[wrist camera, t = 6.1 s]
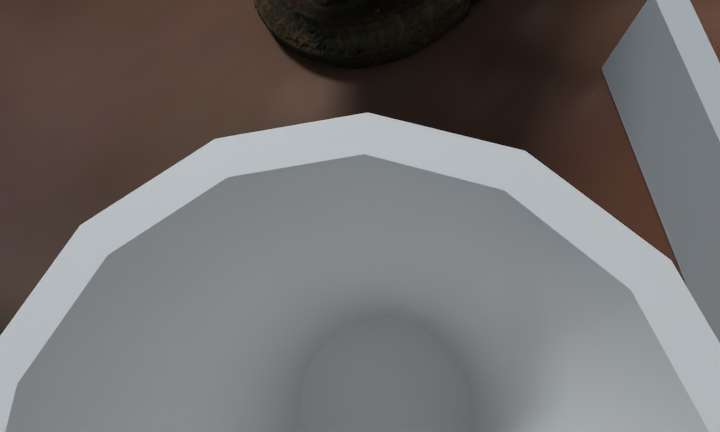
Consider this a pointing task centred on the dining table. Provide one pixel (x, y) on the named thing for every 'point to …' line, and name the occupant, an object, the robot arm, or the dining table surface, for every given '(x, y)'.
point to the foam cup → (358, 299)
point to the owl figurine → (359, 27)
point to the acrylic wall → (676, 134)
